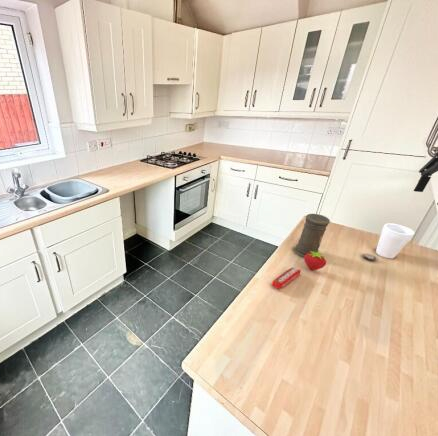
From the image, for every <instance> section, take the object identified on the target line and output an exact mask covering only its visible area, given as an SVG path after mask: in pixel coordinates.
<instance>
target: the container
mask: <svg viewBox="0 0 438 436" xmlns="http://www.w3.org/2000/svg"><path fill="white" fill-rule="evenodd" d="M330 222H331V220H330V219H329V218H328V217H327V216H325V215H322V214H318V213H308V214H306V215H305V222H304V226H303V228H302V231H301V234H300V237H299V239H298V241H297V244H296V245H295V247H294V252H295V253H296V254H297V255H298V256H300V257H302V258H304V256H305V255H306V254H307V253H311V252H315V253H317V252H318V253H319V252H320V250H319V249H320V247H321V243H322V240H323V238H324V234H325V232H326V231H327V227H328V226H329V224H330ZM310 251H311V252H310Z"/></svg>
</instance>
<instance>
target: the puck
mask: <svg viewBox="0 0 438 436" xmlns="http://www.w3.org/2000/svg"><path fill="white" fill-rule="evenodd" d="M362 258H363V259H364V260H366V261H369V262H375V261H376V260H377V257H376V256H375V255H373V254H371V253H364V254H363V255H362Z"/></svg>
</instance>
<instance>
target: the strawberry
mask: <svg viewBox="0 0 438 436" xmlns="http://www.w3.org/2000/svg"><path fill="white" fill-rule="evenodd" d="M310 252H311V251H310ZM303 258H304V262H305V265H306V267H307V269H308V270H309V271H311V272H312V271H318V270H321V269H323V268H324V267H325V266H326V265H327V260H326V259H325V256H323V253H319V252H317V253H315V252H311V253H307V254H306V255H305V256H304V257H303Z"/></svg>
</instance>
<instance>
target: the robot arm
mask: <svg viewBox="0 0 438 436" xmlns="http://www.w3.org/2000/svg"><path fill="white" fill-rule="evenodd" d="M437 172H438V151H437V152H435V154H434V155H433V157H432V158H431V159H430V160H429V161H428V162H426V164H424V165H423V166H422V167H421V168H420V169H419V170H418V173H419V174H420V178H419V180H418V181H417V184H416V186H415V187H414V189H413V192H417V193H418V192H419V193H423V192H424V190H425V189H426V188H427V185H428V184H429V182H430V180H431V178H432V176H433V174H435V173H437ZM436 205H437V206H438V202H437V203H436Z"/></svg>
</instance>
